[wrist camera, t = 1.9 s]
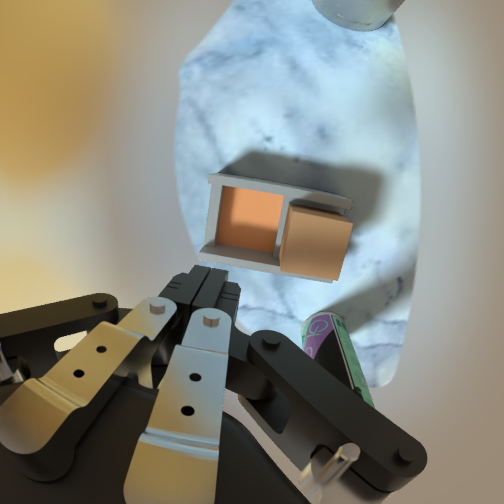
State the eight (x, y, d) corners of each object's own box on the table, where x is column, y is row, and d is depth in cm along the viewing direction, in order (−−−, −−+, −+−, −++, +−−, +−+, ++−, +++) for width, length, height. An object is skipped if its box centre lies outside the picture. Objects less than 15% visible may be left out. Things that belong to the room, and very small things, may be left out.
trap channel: (217, 172, 27) (208, 174, 23) (342, 195, 27) (352, 200, 23) (207, 247, 30) (198, 259, 26) (324, 268, 30) (331, 283, 26)
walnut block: (288, 202, 26) (292, 211, 21) (339, 212, 26) (353, 223, 21) (279, 251, 27) (280, 270, 23) (327, 260, 27) (337, 280, 23)
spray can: (304, 309, 31) (329, 464, 12) (348, 312, 31) (404, 453, 12) (297, 346, 33) (309, 492, 14) (338, 348, 33) (374, 485, 14)
